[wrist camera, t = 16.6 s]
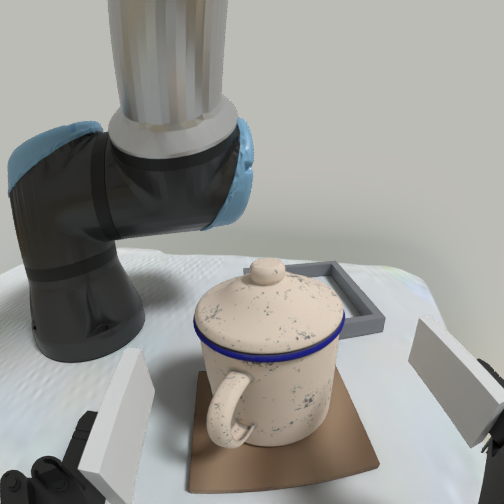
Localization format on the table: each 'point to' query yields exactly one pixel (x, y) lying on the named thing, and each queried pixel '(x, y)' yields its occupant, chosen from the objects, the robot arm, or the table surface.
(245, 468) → the walnut coaster
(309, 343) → the teacup with lid
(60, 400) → the table surface
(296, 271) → the holder tray
